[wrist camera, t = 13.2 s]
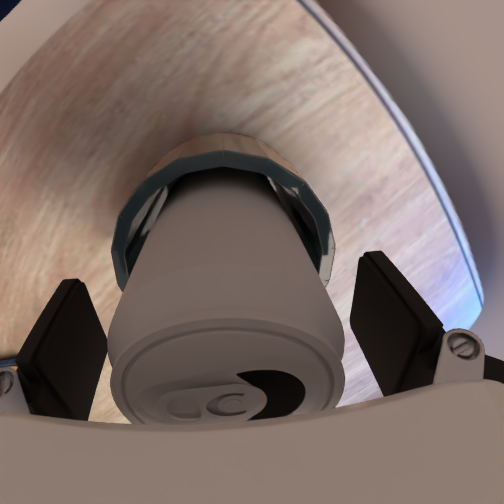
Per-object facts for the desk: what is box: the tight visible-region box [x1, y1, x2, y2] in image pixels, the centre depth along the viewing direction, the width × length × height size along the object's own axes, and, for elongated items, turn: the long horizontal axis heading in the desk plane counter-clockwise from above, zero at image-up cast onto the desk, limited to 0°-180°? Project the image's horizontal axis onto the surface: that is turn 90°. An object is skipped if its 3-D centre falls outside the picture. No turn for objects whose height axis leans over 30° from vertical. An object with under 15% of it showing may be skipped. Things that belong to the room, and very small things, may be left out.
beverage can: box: [107, 167, 345, 425], centre depth 12 cm, size 6×6×12 cm
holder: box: [111, 133, 335, 292], centre depth 15 cm, size 9×9×6 cm
